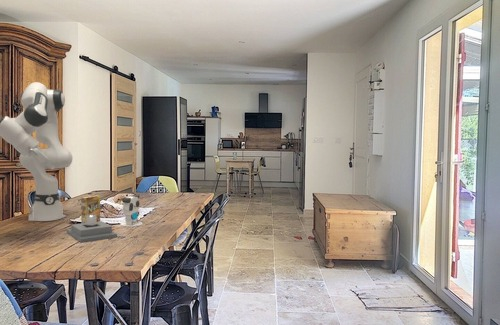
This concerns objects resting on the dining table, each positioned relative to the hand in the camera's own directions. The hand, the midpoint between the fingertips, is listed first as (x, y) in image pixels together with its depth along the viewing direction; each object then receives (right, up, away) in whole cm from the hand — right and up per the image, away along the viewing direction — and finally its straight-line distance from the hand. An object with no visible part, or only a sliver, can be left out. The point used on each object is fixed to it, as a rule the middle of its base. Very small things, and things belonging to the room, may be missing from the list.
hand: (53, 167), depth 182 cm
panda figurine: (+29, -31, +25) cm, 49 cm away
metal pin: (+17, -30, +1) cm, 35 cm away
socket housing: (+17, -32, +1) cm, 36 cm away
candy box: (+9, -30, +21) cm, 38 cm away
